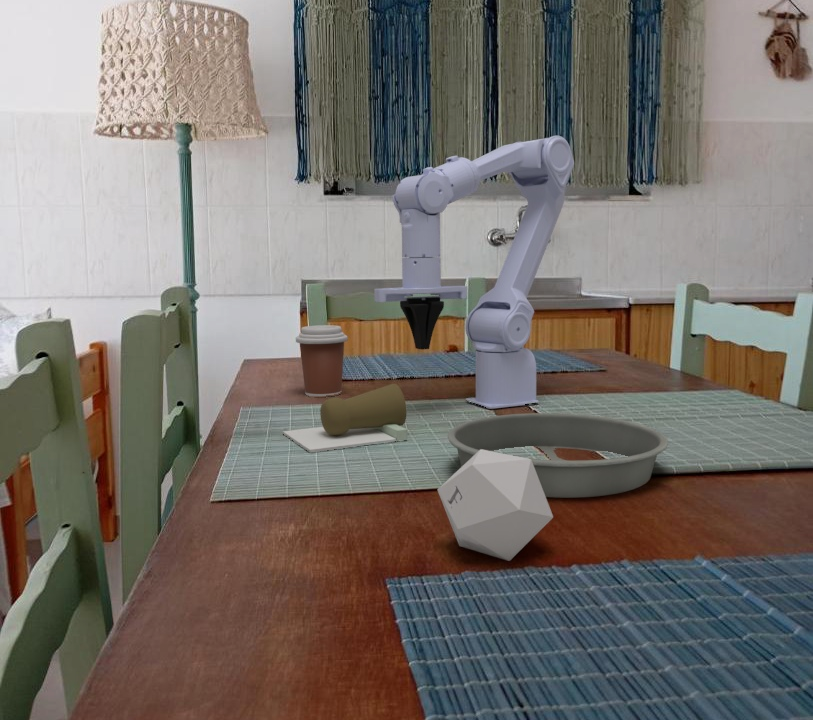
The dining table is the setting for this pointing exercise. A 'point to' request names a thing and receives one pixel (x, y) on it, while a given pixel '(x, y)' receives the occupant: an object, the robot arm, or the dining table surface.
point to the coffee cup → (322, 359)
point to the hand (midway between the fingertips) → (422, 348)
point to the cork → (364, 410)
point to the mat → (335, 438)
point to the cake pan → (573, 434)
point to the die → (495, 503)
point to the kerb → (394, 431)
